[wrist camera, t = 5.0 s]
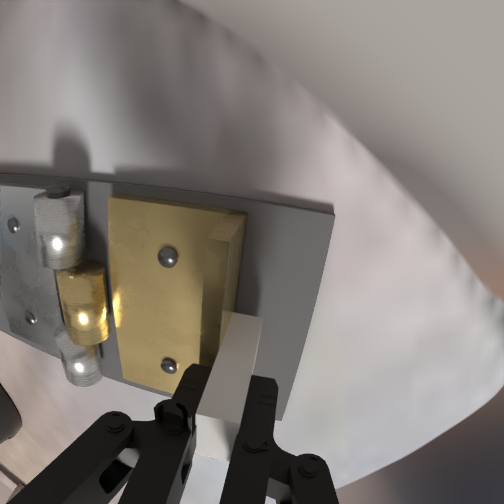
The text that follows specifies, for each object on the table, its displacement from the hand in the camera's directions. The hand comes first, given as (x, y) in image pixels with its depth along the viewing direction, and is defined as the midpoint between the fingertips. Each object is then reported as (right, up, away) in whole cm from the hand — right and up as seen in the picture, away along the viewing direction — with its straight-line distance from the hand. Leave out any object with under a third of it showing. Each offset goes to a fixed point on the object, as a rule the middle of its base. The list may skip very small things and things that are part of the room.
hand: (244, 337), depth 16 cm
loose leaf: (-5, +1, +1) cm, 6 cm away
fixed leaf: (-13, +3, +2) cm, 14 cm away
